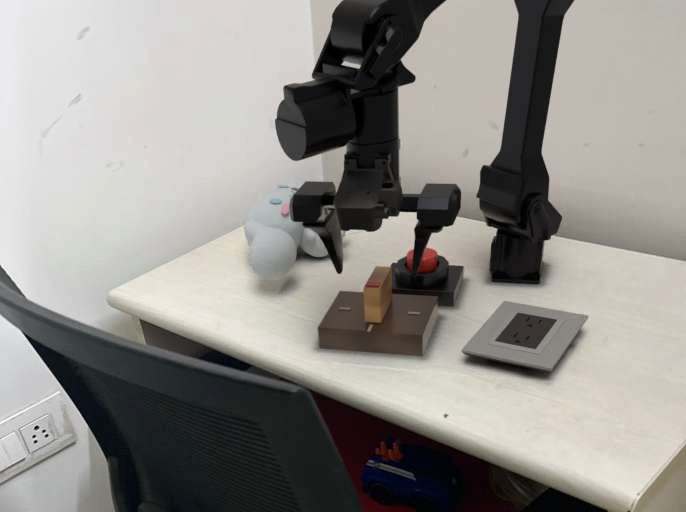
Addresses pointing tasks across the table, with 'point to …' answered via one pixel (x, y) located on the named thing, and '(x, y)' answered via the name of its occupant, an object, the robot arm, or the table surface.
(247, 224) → the toy
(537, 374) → the table surface
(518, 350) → the electrical outlet
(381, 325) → the panel
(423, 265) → the button
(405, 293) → the button box
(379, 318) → the knob
